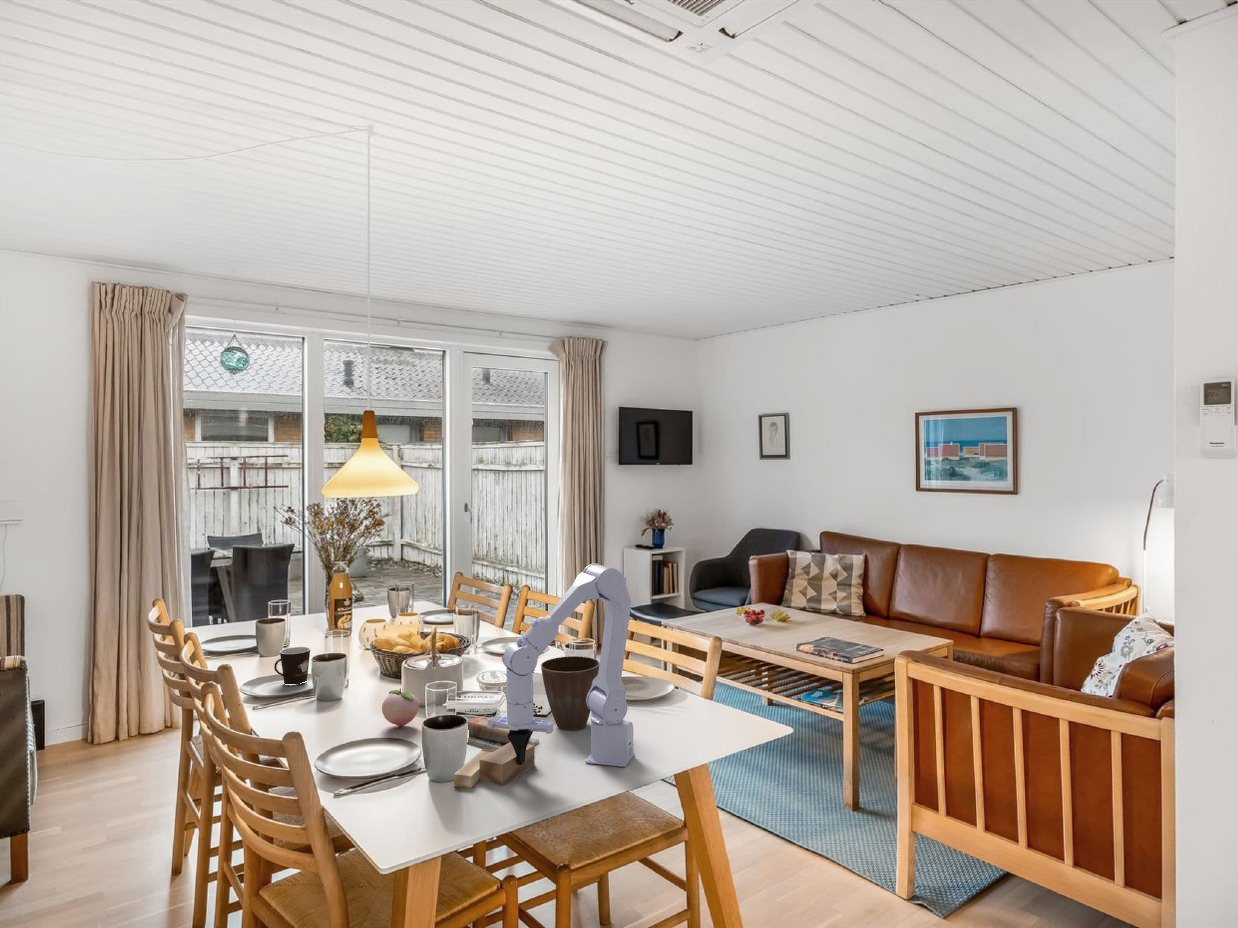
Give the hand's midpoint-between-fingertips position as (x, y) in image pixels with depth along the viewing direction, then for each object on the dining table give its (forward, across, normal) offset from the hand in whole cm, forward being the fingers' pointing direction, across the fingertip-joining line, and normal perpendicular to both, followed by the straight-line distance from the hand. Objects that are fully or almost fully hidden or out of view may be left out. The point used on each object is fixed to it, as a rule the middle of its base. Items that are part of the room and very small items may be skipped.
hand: (521, 762), depth 166 cm
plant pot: (+3, 0, +32) cm, 32 cm away
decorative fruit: (+3, -42, +20) cm, 46 cm away
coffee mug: (+3, -95, +45) cm, 105 cm away
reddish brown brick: (+4, -13, +17) cm, 22 cm away
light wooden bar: (+3, -10, -1) cm, 10 cm away
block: (+3, -4, +1) cm, 5 cm away
